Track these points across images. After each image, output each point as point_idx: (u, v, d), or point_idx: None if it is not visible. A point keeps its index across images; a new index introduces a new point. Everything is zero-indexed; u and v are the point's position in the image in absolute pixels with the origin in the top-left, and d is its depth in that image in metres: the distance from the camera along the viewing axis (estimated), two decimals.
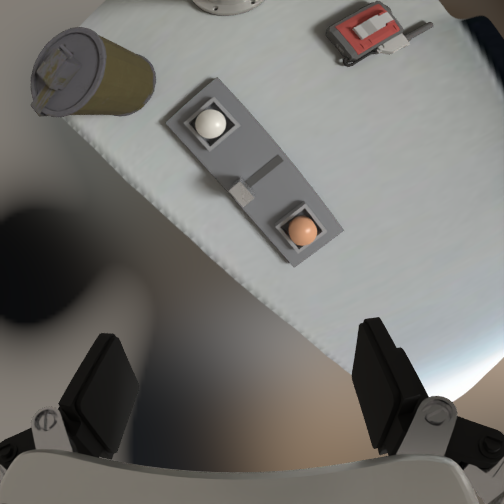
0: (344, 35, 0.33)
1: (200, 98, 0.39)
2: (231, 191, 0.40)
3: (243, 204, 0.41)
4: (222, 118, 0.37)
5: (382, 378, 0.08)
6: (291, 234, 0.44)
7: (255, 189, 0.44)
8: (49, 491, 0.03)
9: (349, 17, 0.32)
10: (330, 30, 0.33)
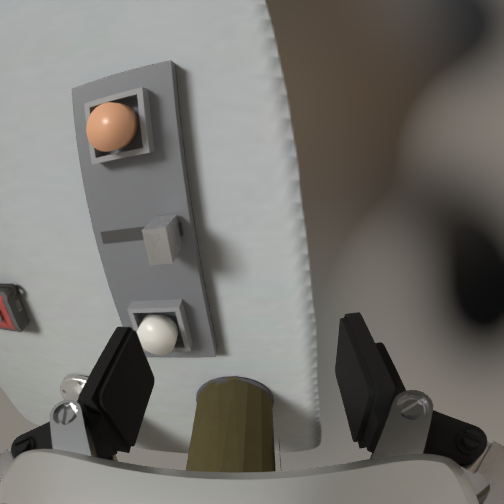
0: (9, 319, 0.30)
1: None
2: (169, 259, 0.24)
3: (162, 231, 0.23)
4: (138, 335, 0.28)
5: (359, 371, 0.08)
6: (124, 133, 0.21)
7: (153, 217, 0.26)
8: (49, 491, 0.03)
9: (4, 328, 0.32)
10: (20, 329, 0.31)
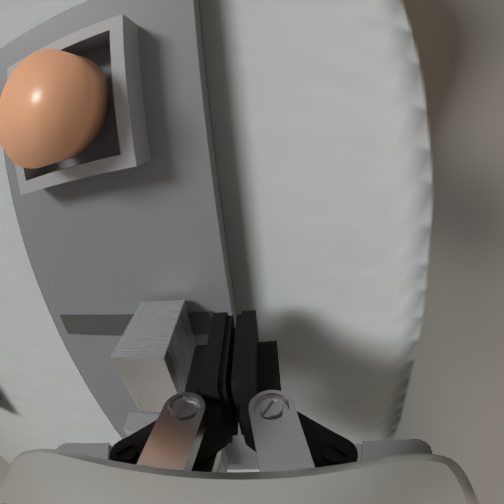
0: None
1: None
2: None
3: (158, 363, 0.09)
4: None
5: None
6: (72, 120, 0.07)
7: (154, 300, 0.13)
8: (49, 491, 0.03)
9: None
10: None
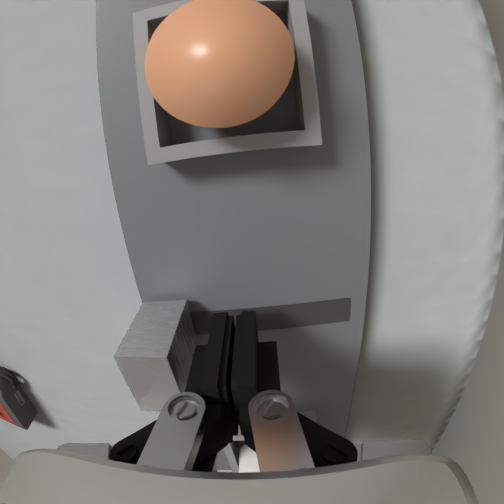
0: (8, 415, 0.17)
1: None
2: None
3: (160, 363, 0.09)
4: None
5: None
6: (278, 80, 0.07)
7: (292, 290, 0.13)
8: (49, 491, 0.03)
9: (1, 418, 0.18)
10: (26, 428, 0.18)
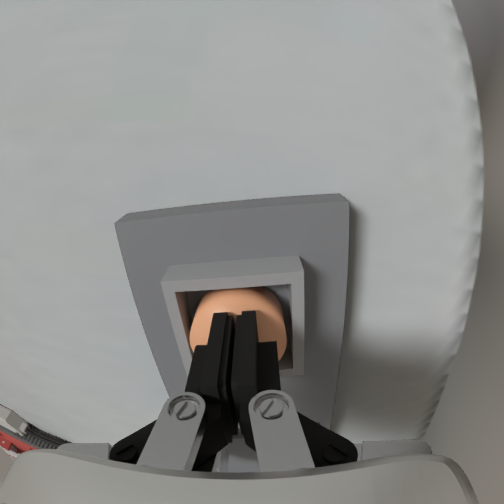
0: None
1: None
2: None
3: None
4: None
5: None
6: None
7: None
8: (49, 491, 0.03)
9: None
10: None
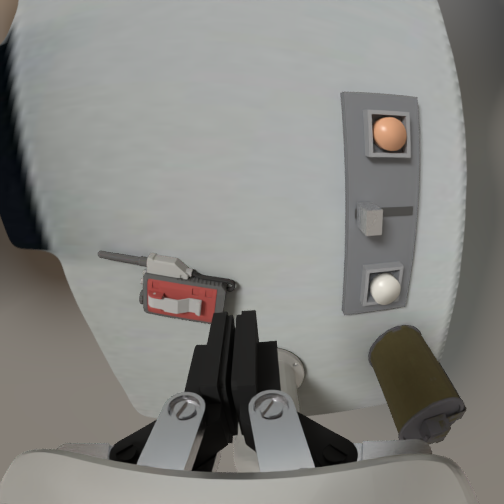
0: (212, 312, 0.41)
1: (369, 306, 0.42)
2: (379, 232, 0.33)
3: (380, 212, 0.32)
4: (376, 289, 0.37)
5: None
6: (403, 141, 0.31)
7: (396, 201, 0.35)
8: (49, 491, 0.03)
9: (190, 319, 0.42)
10: None
